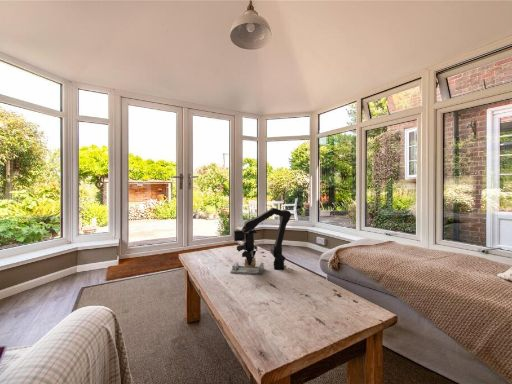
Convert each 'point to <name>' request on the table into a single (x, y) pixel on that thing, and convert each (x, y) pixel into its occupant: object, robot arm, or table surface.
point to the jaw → (235, 266)
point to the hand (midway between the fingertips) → (250, 263)
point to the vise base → (249, 270)
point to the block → (251, 263)
